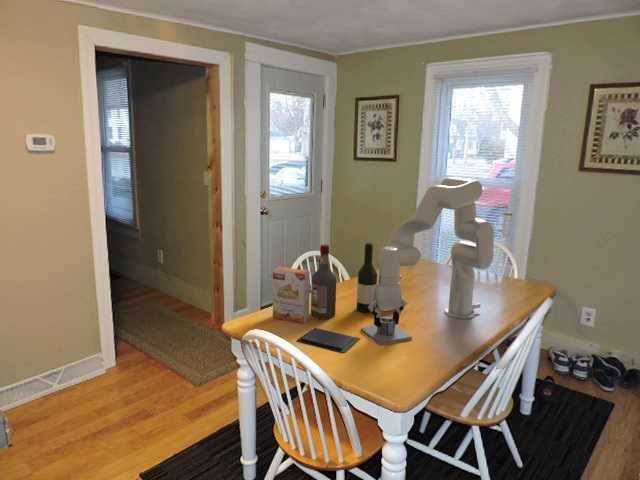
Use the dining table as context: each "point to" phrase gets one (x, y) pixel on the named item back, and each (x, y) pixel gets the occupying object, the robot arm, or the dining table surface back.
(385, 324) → the collar
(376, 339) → the post base
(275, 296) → the cracker box
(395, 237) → the robot arm
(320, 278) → the liquor
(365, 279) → the wine bottle
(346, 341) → the wallet
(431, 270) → the dining table surface
